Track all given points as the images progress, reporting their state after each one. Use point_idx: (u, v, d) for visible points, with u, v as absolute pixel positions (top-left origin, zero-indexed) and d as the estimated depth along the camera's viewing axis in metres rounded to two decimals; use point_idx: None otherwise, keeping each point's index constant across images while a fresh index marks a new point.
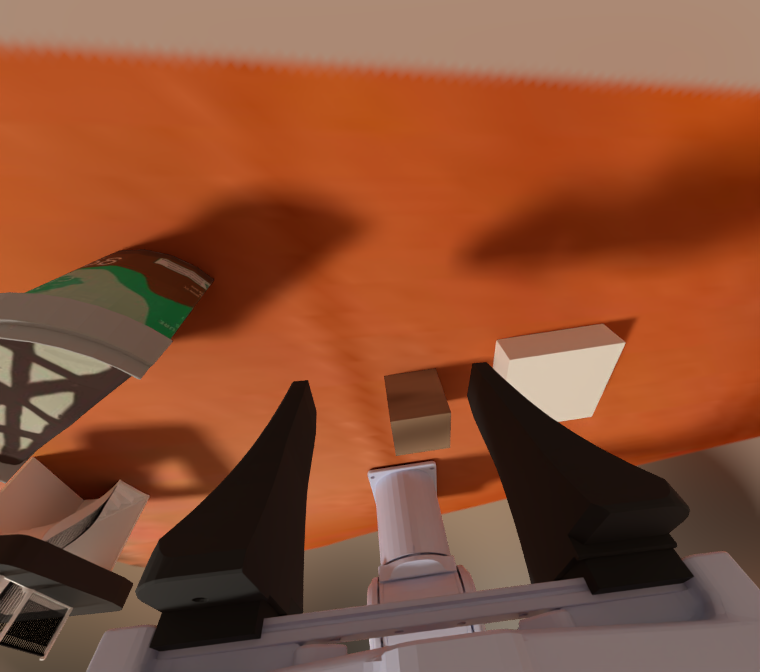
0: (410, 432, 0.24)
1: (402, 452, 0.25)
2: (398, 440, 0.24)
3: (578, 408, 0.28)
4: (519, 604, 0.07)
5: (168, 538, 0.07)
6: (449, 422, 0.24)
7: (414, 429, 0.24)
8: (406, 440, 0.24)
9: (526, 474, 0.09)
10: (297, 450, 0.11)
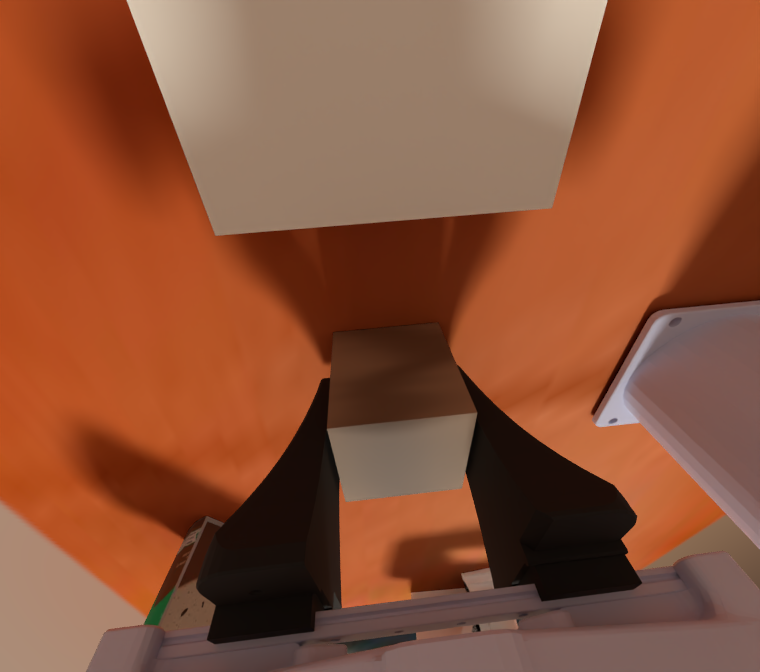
0: (386, 478, 0.11)
1: (454, 481, 0.12)
2: (408, 489, 0.12)
3: None
4: (518, 604, 0.07)
5: (225, 532, 0.07)
6: (365, 427, 0.09)
7: (377, 473, 0.11)
8: (412, 480, 0.11)
9: (487, 478, 0.09)
10: None
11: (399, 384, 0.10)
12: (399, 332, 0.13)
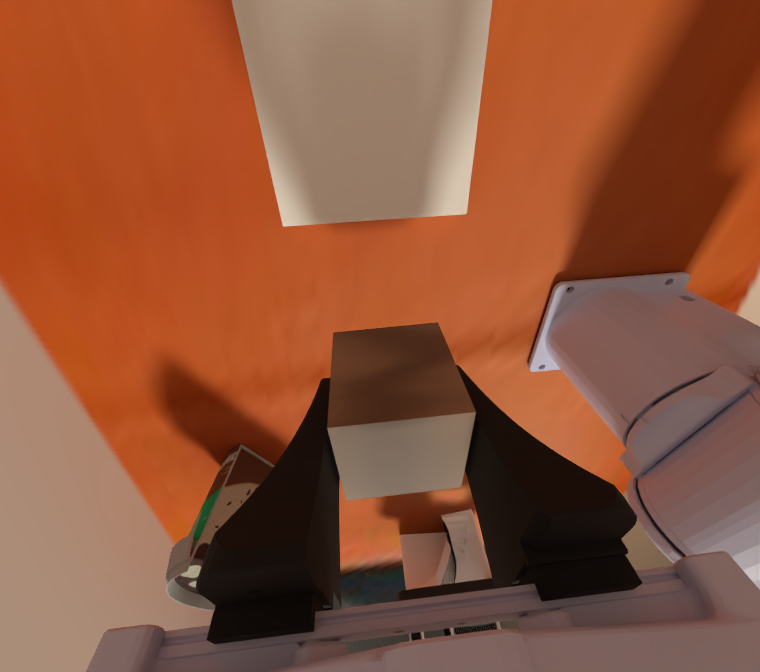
0: (386, 477, 0.11)
1: (453, 480, 0.12)
2: (408, 488, 0.12)
3: None
4: (519, 604, 0.07)
5: (224, 532, 0.07)
6: (365, 426, 0.09)
7: (376, 472, 0.11)
8: (411, 480, 0.11)
9: (487, 478, 0.09)
10: None
11: (399, 384, 0.11)
12: (399, 332, 0.13)
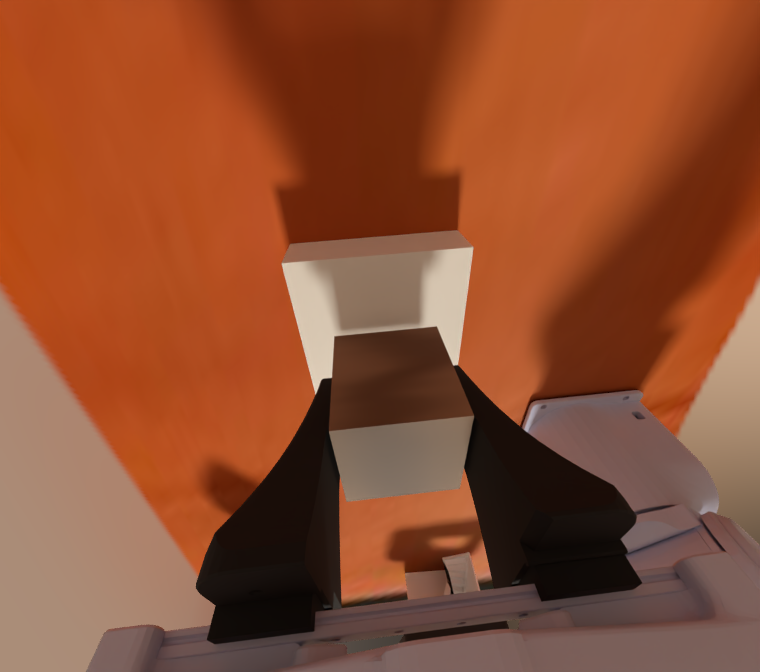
0: (386, 478, 0.11)
1: (452, 482, 0.12)
2: (407, 489, 0.12)
3: (438, 282, 0.15)
4: (518, 604, 0.07)
5: (224, 532, 0.07)
6: (365, 429, 0.10)
7: (377, 474, 0.11)
8: (411, 481, 0.12)
9: (487, 479, 0.09)
10: (332, 446, 0.11)
11: (399, 387, 0.11)
12: (399, 336, 0.13)
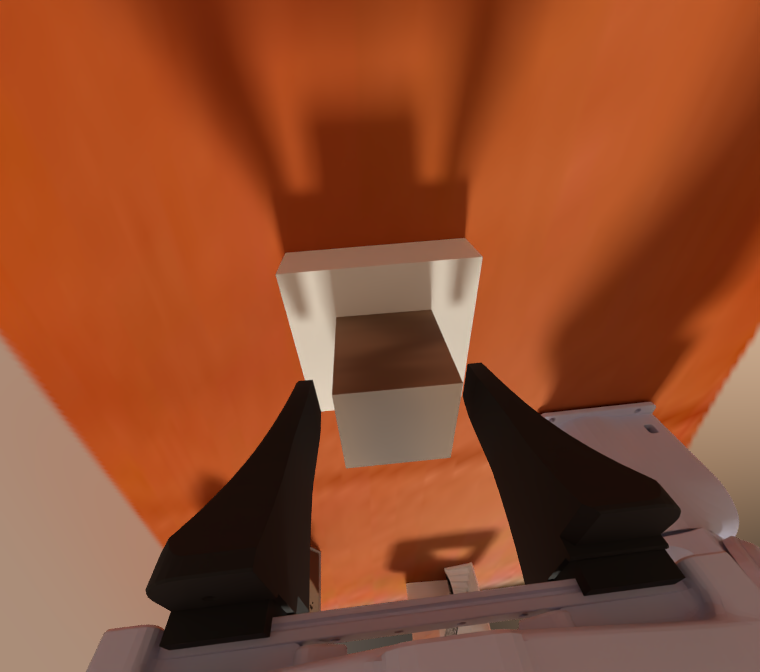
0: (382, 445, 0.12)
1: (443, 450, 0.13)
2: (402, 456, 0.13)
3: (444, 293, 0.14)
4: (519, 603, 0.07)
5: (178, 537, 0.07)
6: (365, 394, 0.11)
7: (374, 440, 0.12)
8: (406, 448, 0.13)
9: (520, 475, 0.09)
10: (303, 449, 0.11)
11: (395, 360, 0.12)
12: (396, 317, 0.14)
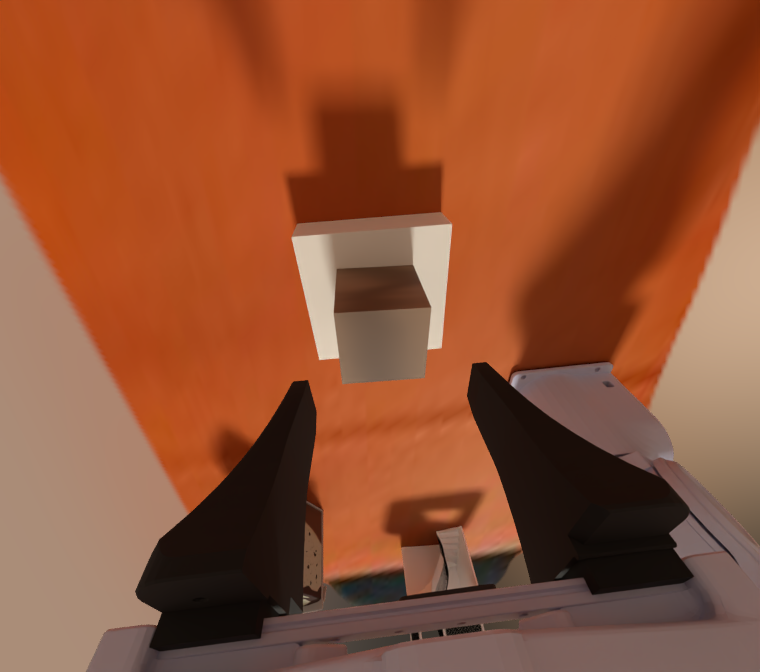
0: (371, 363, 0.16)
1: (418, 370, 0.17)
2: (386, 375, 0.17)
3: (423, 254, 0.18)
4: (519, 604, 0.07)
5: (168, 538, 0.07)
6: (358, 313, 0.14)
7: (365, 358, 0.16)
8: (389, 367, 0.16)
9: (526, 474, 0.09)
10: (297, 450, 0.11)
11: (382, 294, 0.15)
12: (384, 269, 0.18)
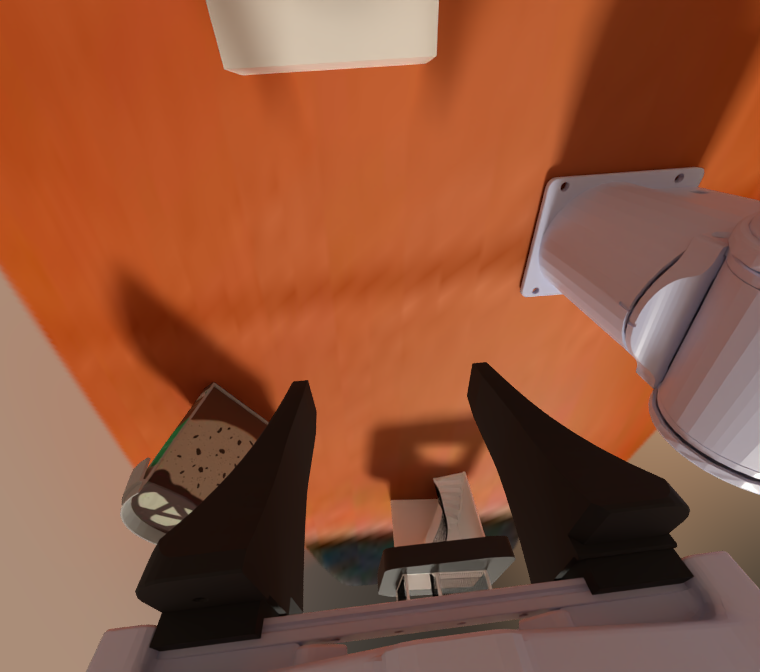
0: None
1: None
2: None
3: None
4: (519, 604, 0.07)
5: (168, 538, 0.07)
6: None
7: None
8: None
9: (526, 474, 0.09)
10: (297, 450, 0.11)
11: None
12: None
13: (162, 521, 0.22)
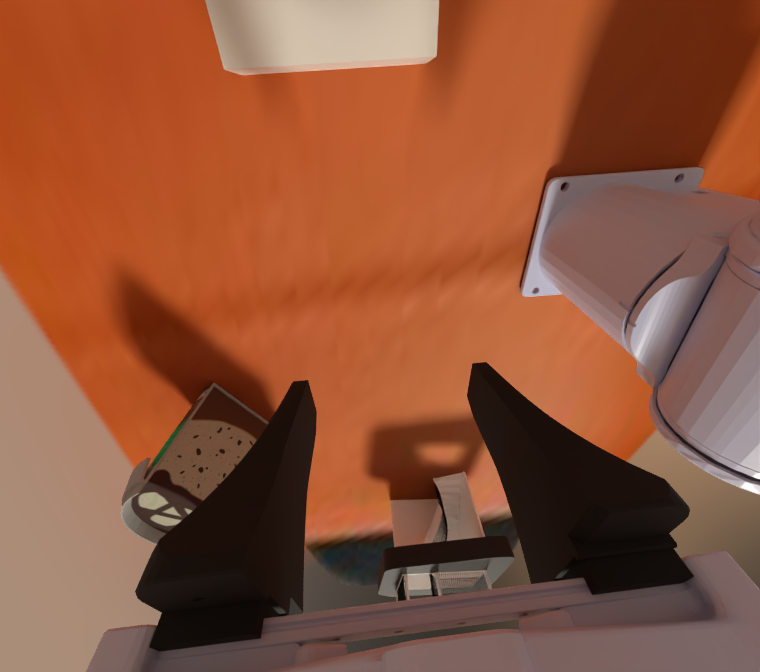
0: None
1: None
2: None
3: None
4: (519, 604, 0.07)
5: (168, 538, 0.07)
6: None
7: None
8: None
9: (526, 474, 0.09)
10: (297, 450, 0.11)
11: None
12: None
13: (162, 521, 0.22)
